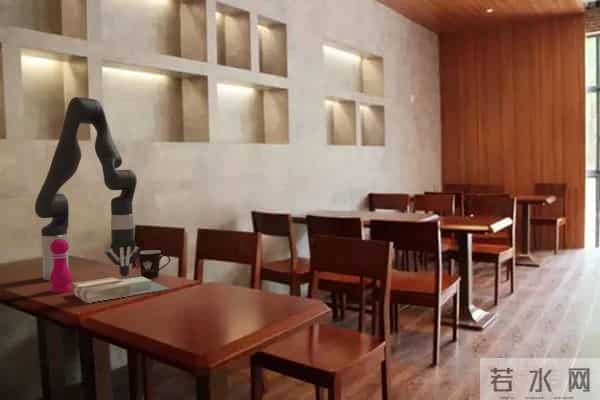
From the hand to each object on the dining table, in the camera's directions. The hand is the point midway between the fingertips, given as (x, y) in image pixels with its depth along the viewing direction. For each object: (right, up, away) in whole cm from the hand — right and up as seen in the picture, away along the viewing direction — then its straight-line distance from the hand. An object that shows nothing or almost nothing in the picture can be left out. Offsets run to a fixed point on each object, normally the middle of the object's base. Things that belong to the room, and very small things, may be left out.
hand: (124, 276), depth 189 cm
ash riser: (-6, -6, -4) cm, 10 cm away
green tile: (+3, -5, +3) cm, 6 cm away
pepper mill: (-23, -6, +3) cm, 24 cm away
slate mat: (+5, -5, +4) cm, 8 cm away
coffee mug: (+4, -4, +23) cm, 24 cm away
